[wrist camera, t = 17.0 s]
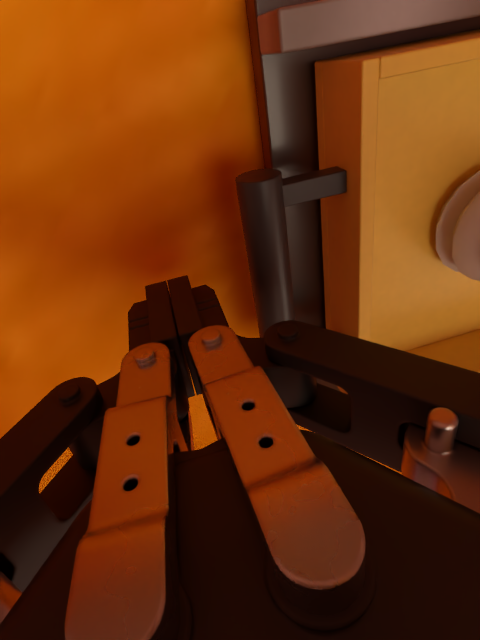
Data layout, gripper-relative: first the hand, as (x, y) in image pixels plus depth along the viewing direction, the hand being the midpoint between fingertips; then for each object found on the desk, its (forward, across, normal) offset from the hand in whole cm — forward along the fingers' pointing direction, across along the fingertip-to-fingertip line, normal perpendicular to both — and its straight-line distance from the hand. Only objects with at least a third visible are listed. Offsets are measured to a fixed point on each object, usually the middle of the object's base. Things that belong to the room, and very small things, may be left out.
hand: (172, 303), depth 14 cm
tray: (+1, -11, 0) cm, 11 cm away
